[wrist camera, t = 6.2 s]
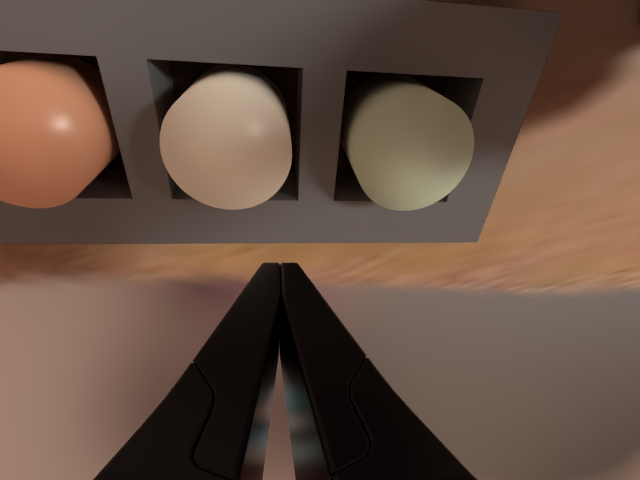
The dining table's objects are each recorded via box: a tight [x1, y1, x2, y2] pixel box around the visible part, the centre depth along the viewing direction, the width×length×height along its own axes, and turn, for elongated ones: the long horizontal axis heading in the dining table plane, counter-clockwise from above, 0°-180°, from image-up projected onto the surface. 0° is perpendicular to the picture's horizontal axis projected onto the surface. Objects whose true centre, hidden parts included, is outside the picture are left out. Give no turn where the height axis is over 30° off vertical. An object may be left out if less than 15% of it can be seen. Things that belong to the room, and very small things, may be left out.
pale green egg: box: [340, 73, 474, 211], centre depth 15 cm, size 5×5×4 cm
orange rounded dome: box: [0, 54, 121, 208], centre depth 14 cm, size 5×5×4 cm
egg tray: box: [0, 0, 564, 244], centre depth 15 cm, size 24×10×3 cm, turn 86°
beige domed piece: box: [160, 64, 292, 210], centre depth 15 cm, size 5×5×4 cm
